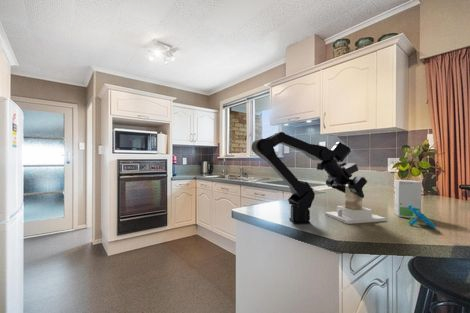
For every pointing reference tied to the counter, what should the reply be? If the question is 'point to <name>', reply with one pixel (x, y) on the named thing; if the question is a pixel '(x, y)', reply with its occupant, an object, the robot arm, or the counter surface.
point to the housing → (354, 215)
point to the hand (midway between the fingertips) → (356, 195)
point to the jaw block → (352, 200)
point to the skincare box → (407, 197)
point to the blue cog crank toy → (419, 217)
